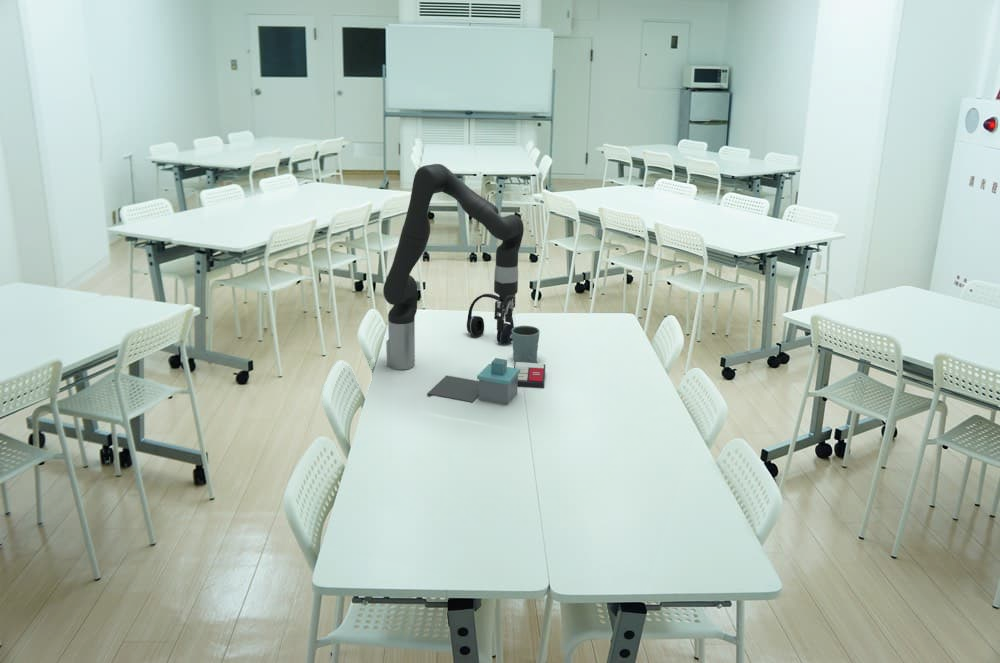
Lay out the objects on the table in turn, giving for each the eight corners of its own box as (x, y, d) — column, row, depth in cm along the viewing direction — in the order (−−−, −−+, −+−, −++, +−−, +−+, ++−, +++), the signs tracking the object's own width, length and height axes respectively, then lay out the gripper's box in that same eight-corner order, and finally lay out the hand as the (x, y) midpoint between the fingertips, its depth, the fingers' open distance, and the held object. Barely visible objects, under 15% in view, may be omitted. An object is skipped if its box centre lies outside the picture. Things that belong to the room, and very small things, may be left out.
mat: (427, 396, 280) (427, 393, 280) (446, 378, 294) (446, 375, 294) (472, 404, 275) (472, 401, 275) (489, 385, 289) (489, 383, 289)
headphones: (463, 336, 332) (464, 292, 326) (474, 331, 338) (474, 287, 331) (506, 347, 322) (508, 302, 316) (516, 342, 328) (518, 297, 321)
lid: (477, 383, 275) (477, 364, 273) (488, 371, 285) (489, 352, 282) (509, 389, 272) (509, 369, 269) (519, 376, 281) (520, 357, 279)
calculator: (511, 379, 287) (514, 360, 301) (511, 390, 289) (514, 370, 302) (544, 381, 286) (545, 362, 300) (543, 392, 288) (544, 372, 302)
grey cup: (543, 362, 310) (545, 332, 306) (521, 368, 305) (522, 337, 300) (527, 353, 318) (528, 323, 313) (505, 358, 312) (506, 328, 308)
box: (478, 401, 278) (479, 378, 275) (489, 389, 286) (489, 367, 284) (507, 406, 274) (508, 384, 272) (517, 394, 283) (518, 372, 280)
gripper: (501, 271, 275) (500, 317, 281) (487, 283, 262) (486, 332, 268) (524, 273, 273) (521, 321, 279) (510, 286, 260) (508, 335, 266)
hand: (504, 326), depth 273 cm, fingers open, 8 cm apart
